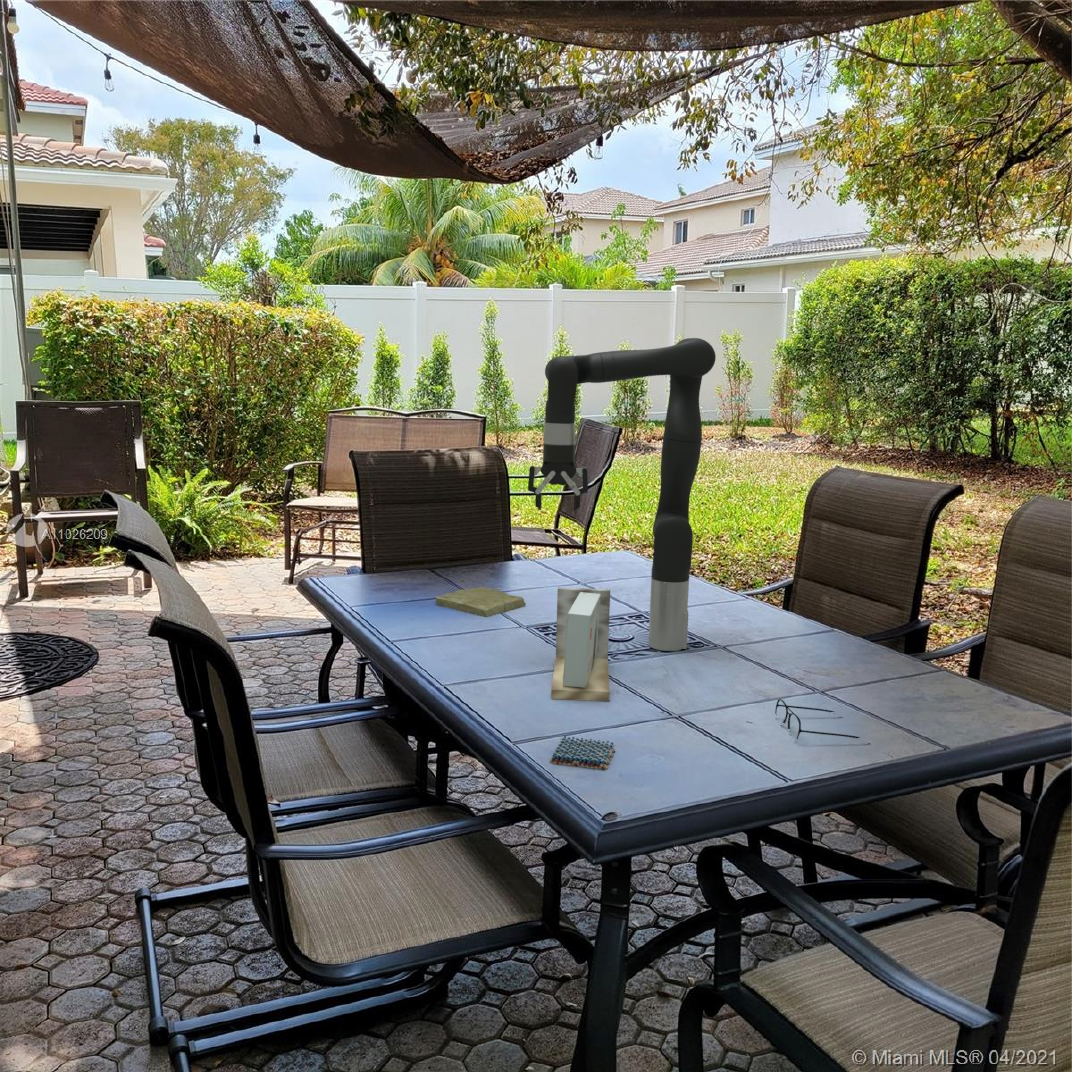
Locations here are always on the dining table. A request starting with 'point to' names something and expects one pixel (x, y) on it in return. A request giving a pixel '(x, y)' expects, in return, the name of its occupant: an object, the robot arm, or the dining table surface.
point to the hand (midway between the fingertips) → (557, 510)
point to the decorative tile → (481, 601)
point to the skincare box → (581, 639)
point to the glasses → (800, 721)
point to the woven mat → (583, 753)
